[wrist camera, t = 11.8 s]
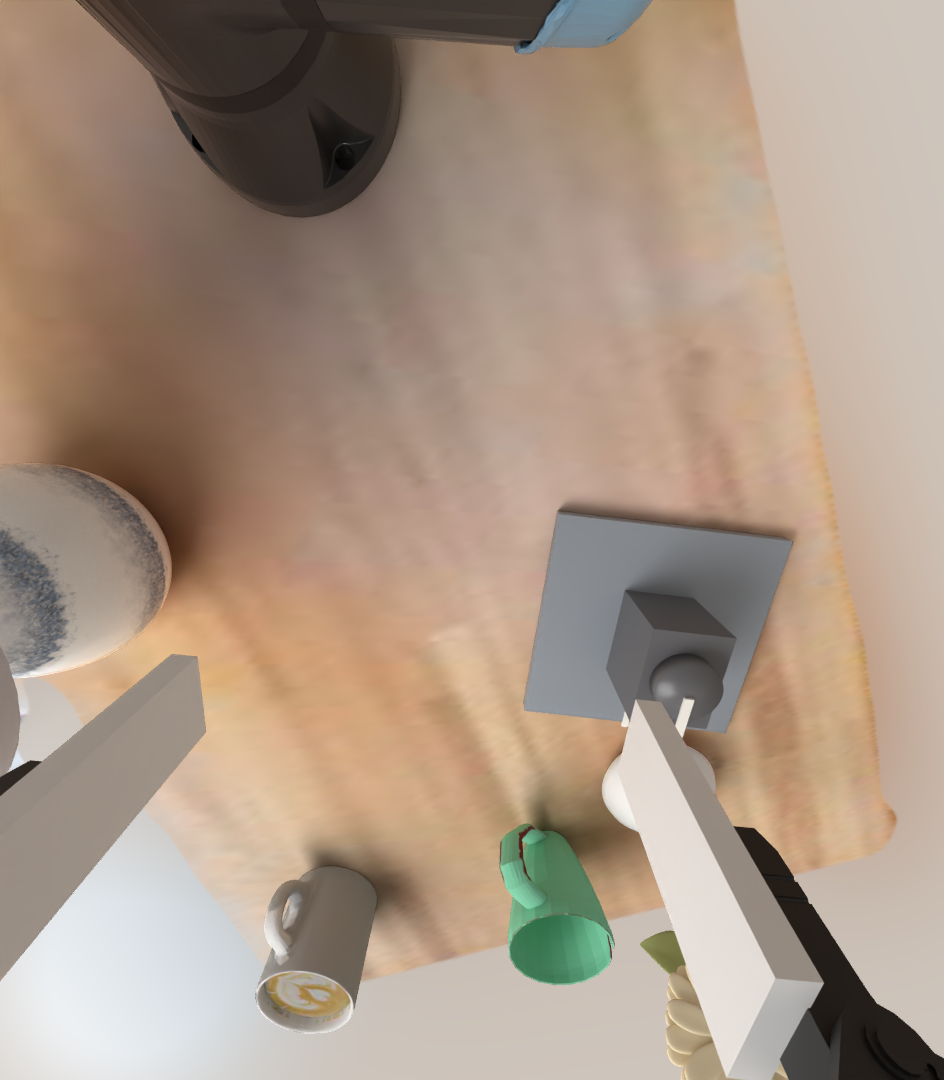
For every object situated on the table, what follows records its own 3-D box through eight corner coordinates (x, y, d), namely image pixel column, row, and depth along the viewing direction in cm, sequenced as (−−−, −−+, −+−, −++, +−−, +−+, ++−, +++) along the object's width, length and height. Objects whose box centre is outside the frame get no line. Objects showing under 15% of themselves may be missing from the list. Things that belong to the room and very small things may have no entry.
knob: (624, 590, 39) (663, 641, 31) (693, 597, 39) (750, 650, 31) (605, 669, 42) (636, 736, 33) (670, 676, 42) (717, 745, 33)
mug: (604, 858, 50) (633, 964, 41) (529, 888, 52) (540, 997, 43) (543, 770, 47) (558, 864, 37) (464, 805, 49) (460, 904, 39)
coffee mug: (388, 916, 54) (368, 1025, 45) (315, 930, 55) (280, 1040, 46) (348, 837, 50) (316, 939, 41) (269, 854, 52) (221, 957, 42)
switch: (557, 510, 38) (569, 529, 33) (783, 537, 38) (833, 559, 33) (522, 706, 44) (528, 749, 39) (717, 728, 45) (750, 774, 39)
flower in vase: (724, 741, 45) (993, 1121, 21) (683, 823, 49) (877, 1230, 25) (601, 716, 45) (737, 1078, 21) (569, 801, 48) (655, 1194, 24)
